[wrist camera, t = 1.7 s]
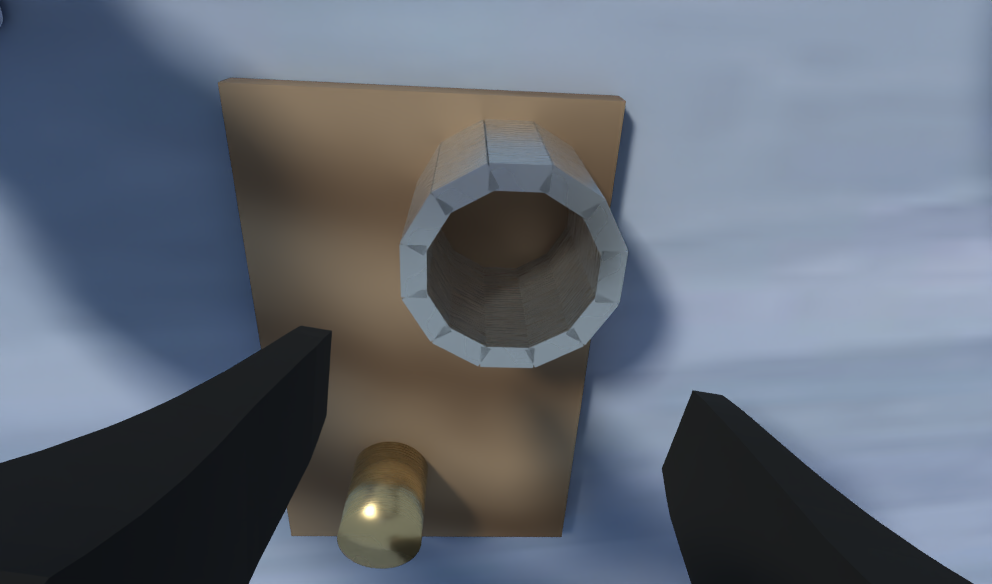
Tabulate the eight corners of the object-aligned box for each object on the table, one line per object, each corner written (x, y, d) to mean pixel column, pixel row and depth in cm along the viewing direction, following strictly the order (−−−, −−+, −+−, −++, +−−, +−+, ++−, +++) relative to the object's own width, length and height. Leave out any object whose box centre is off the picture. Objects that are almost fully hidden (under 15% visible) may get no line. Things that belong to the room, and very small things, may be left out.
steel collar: (415, 115, 17) (396, 159, 13) (599, 123, 18) (642, 168, 13) (418, 282, 20) (402, 365, 16) (578, 286, 20) (608, 369, 16)
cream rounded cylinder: (352, 440, 23) (333, 510, 20) (427, 442, 23) (421, 511, 20) (356, 495, 25) (340, 568, 21) (428, 495, 25) (421, 568, 22)
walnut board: (230, 77, 18) (217, 82, 17) (618, 95, 18) (626, 101, 17) (297, 517, 26) (291, 535, 26) (558, 519, 27) (561, 537, 26)
